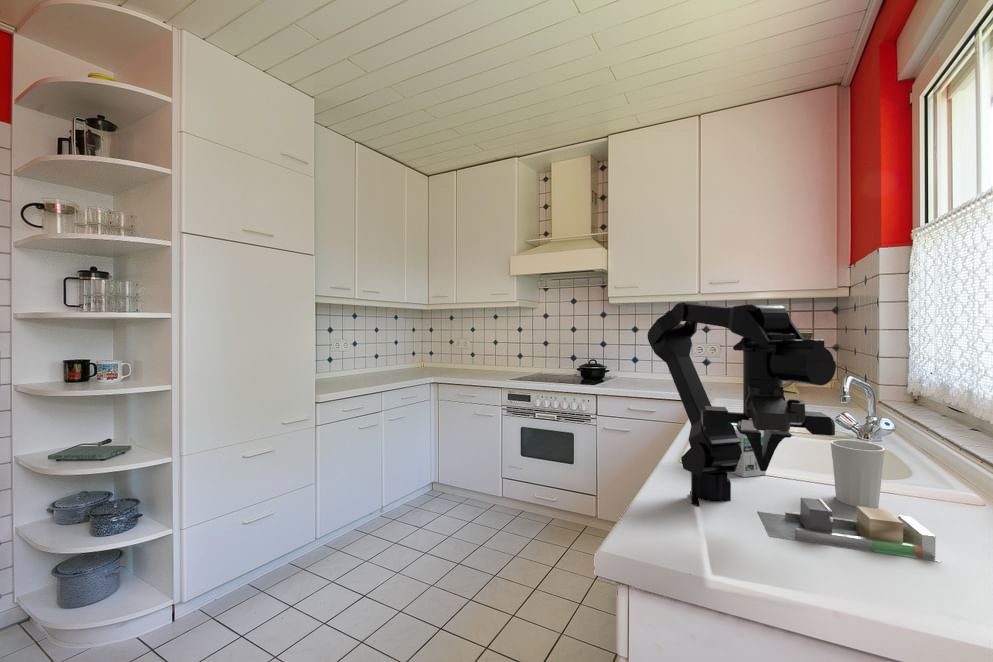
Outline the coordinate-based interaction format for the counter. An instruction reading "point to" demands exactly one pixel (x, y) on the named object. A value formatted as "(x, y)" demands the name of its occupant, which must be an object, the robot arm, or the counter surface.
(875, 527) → the block
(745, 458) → the light bulb box
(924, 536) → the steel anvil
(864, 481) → the cup
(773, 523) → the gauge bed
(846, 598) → the counter surface
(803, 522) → the plunger
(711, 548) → the counter surface
